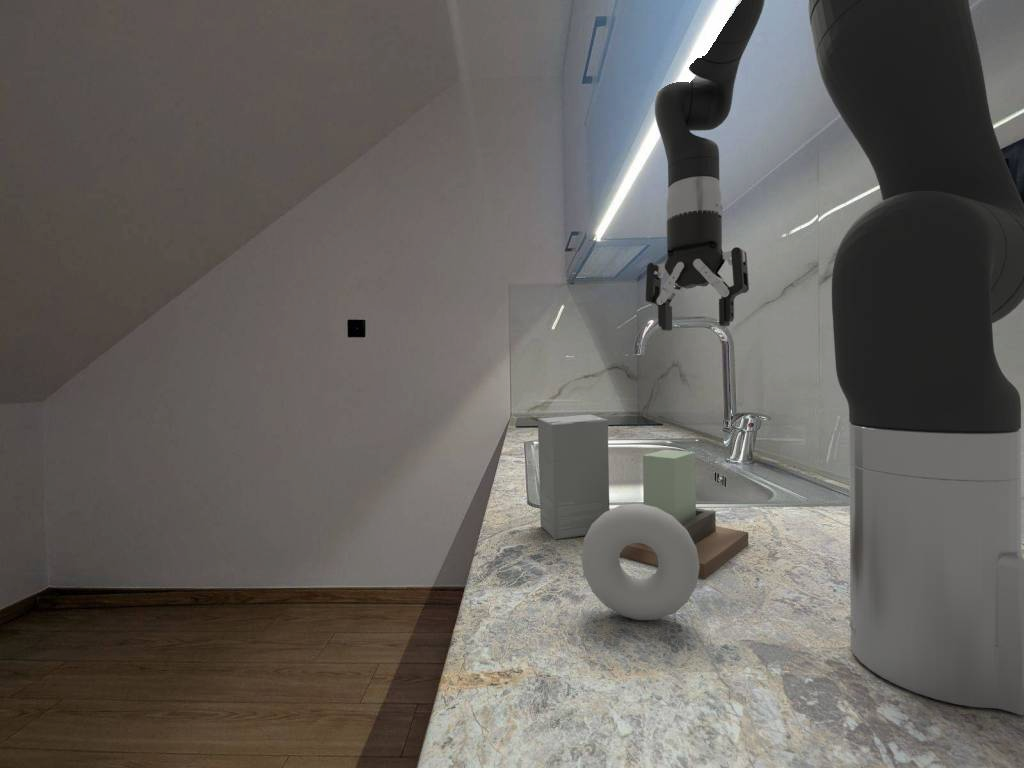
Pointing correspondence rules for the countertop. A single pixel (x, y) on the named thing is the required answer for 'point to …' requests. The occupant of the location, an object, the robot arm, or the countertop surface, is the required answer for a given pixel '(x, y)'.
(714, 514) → the keyed socket board
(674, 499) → the keyed peg
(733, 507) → the countertop surface
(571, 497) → the skincare box
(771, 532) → the countertop surface
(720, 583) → the countertop surface
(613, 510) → the donut
